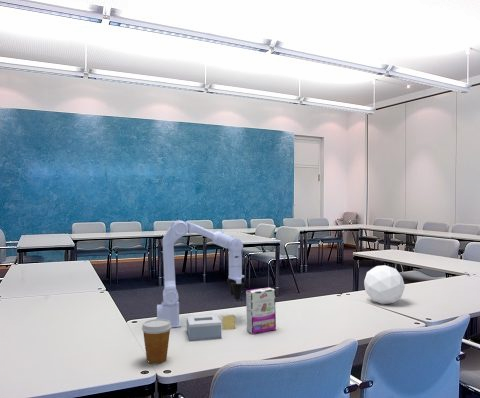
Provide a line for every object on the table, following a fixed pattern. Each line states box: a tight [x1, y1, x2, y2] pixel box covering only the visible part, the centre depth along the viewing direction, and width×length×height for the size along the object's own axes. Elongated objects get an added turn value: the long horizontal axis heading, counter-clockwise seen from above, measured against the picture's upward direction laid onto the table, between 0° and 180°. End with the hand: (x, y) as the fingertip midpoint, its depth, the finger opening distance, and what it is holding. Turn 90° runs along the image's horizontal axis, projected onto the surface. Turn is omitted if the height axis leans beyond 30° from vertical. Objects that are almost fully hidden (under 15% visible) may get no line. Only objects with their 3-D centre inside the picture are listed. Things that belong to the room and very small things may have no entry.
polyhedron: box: [363, 264, 406, 305], centre depth 196 cm, size 19×20×20 cm
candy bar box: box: [245, 287, 277, 335], centre depth 154 cm, size 11×5×16 cm, turn 117°
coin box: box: [186, 313, 222, 342], centre depth 149 cm, size 12×12×6 cm
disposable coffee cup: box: [141, 318, 172, 364], centre depth 125 cm, size 10×10×12 cm
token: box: [221, 314, 236, 330], centre depth 157 cm, size 5×2×5 cm, turn 103°
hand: (235, 297), depth 168 cm, fingers open, 7 cm apart
